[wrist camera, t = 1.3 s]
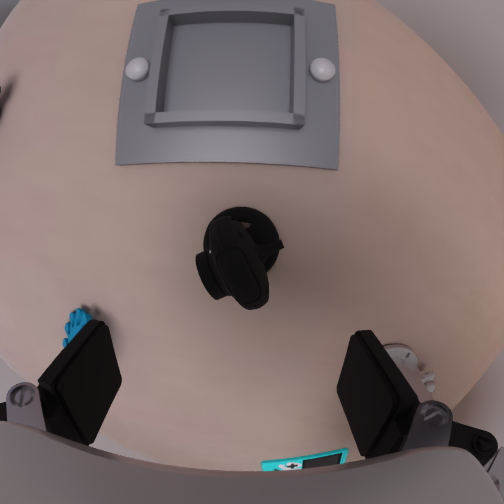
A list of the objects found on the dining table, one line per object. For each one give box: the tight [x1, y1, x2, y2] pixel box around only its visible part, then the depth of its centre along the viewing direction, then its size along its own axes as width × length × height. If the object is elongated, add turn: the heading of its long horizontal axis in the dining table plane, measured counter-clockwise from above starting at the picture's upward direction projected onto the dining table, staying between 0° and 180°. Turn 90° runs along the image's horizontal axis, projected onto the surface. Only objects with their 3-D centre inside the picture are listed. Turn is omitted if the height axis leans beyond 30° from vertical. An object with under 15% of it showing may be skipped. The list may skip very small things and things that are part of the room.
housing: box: [115, 0, 340, 170], centre depth 21 cm, size 22×20×4 cm
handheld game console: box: [261, 448, 348, 471], centre depth 40 cm, size 10×16×1 cm, turn 96°
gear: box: [63, 308, 92, 347], centre depth 29 cm, size 11×6×10 cm
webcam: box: [196, 207, 284, 310], centre depth 23 cm, size 8×8×10 cm
